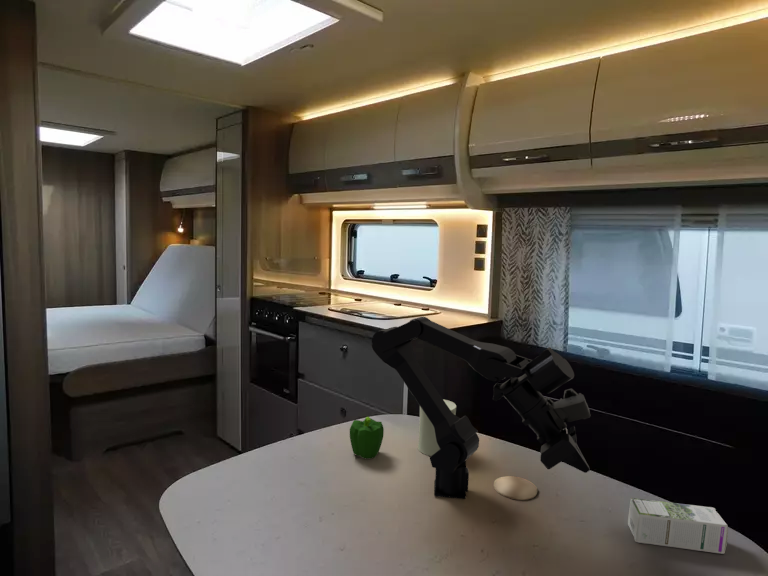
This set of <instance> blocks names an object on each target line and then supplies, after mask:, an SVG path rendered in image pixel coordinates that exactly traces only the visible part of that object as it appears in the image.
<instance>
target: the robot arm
mask: <svg viewBox="0 0 768 576" xmlns="http://www.w3.org/2000/svg"><path fill="white" fill-rule="evenodd" d="M417 339H419V340H421V341H423V342H425V343H427V344H430V345H432V346H434V347H436V348H438V349H440V350H442V351H445V352H446V353H449V354H450V355H452V356H455V357H457V358H459V359H461V360H463V361H465V362H466V363H468V365H469V366H470V367H471V368H472V369H473V370H474V371H475V372H476V373H478V374H479V375H480V376H482V377H483V378H484V379H486V380H488V381H489V382H495V384H494V385H493V387H492V389H493V396H492V400H493V401H494V402H497V401H499V400H500V399H501V398H502V397H504V399H506V400H507V402H508V403H509V404H510V406H512V408H513V409H514V410H515V411H516V413H518V415H519V416H520V417H521V419H522V421H521V422H522V424H523V425H524V427H527V426H528V427H529V428H530V429H531V430H532V431H533V432H534V434H535V435H536V440H537V442H538V443H539V444H543V443H544V442H545V443H544V444H543V445H540V446H541V447H540V462H541V464H543V466H544V467H545V468H546V469H547V470H551V469H552V468H553V467H556V466H557V465H558V464H560V463H564V464H566V465H568V466H570V467H572V468H574V469H576V470H578V471H581V472H582V473H585V474H586V473H588V472H589V471H590V470H591V469H590V466H589V464H588V463H587V461H586V459H585V457H584V455H583V453H582V451H581V449H580V448H579V445H578V443H577V434H576V427H575V425H573V426H571V427H570V428H568V429H567V427H568V425H567V423H571V422H574V421H579V420H587V419H589V418H591V417H592V416H591V415H592V414H591V412H590V410H591V409H590V408H589V405H588V402H587V400H586V397H585V395H584V394H582V393H581V392H579V393H577V392H576V391H575V390H574V389H573V388H568V389H565V390H564V392H563V398H562V397H561V398H559V400H557V401H553V400H552V399H551V397H548V396H544V395H543V394H542V393H544V394H547V395H549V394H551V393H552V392H554V391H555V390H557V389H558V388H560V387H561V386H563V385H565V384H567V382H569V381H571V380H573V379H574V378H575V372H574V370H573V368H572V366H571V364H570V363H569V362H568V361H567V359H566V358H564V357H563V356H562V355H561V354H559V353H557V352H556V351H554V350H553V349H552V347H550V346H549V347H547V348H546V349H545V350H543V351H542V352H540V354H539V355H538V356H536V357H535V358H533V359H530V358H527V357H525V356H522V355H518V354H516V352H515V351H514V350H513V349H511V348H510V347H508V346H503V345H500V344H495V343H492V342H491V343H489V342H483V341H478V340H475V339H473V338H470V337H468V336H465V335H464V334H461V333H459V332H457V331H455V330H452V329H450V328H448V327H446V326H443V325H441V324H439V323H436V322H435V321H433V320H431V319H429V318H428V317H426V316H420V317H416V318H412V319H410V320H409V321H408V322H406V323H404V324H402V325H399V326H392V327H389V328H385V329H381V330H378V331H376V332H375V333H374V334H373V335H372V338H371V344H370V346H371V347H370V348H371V349H372V352H373V353H375V355H376V356H377V358H378V359H380V360H381V362H383V363H384V364H386V365H387V366H388V367H390V368H392V369H393V370H395V372H397V374H398V376H399V377H400V378H401V380H402V381H403V383H404V384H405V386H406V388H407V389H408V391H409V392H410V393H411V395H412V397H413V398H414V399H415V401H416V402H417V404H418V406H419V408H420V407H421V408H422V410H423V411H424V413H425V414H426V416H427V417H428V419H429V420H430V422H431V423H432V425H433V426H434V430H435V436H436V441H437V444H438V446H439V448H440V450H438V451H437V452H436V453H434V454H433V455H432V456H429V460H430V465H431V468H433V469H435V473H434V474H435V475H434V486H433V488H434V489H433V491H434V493H433V496H434V497H436V498H437V497H438V498H447V499H448V498H449V499H458V500H459V499H460V500H465V499H467V493H468V491H469V479H470V478H469V477H470V473H469V472H470V471H469V468H468V467H467V462H466V461H467V460H468V459H469V458H471V456H472V455H473V454H474V453H476V451H478V450H479V447H480V437H479V436H478V435H479V434H477V433H478V432H479V430H478V429H477V428H476V427H474V426H473V424H472V423H471V421H470V418H469V417H468V416H467V415H463V416H462V417H461V418H460V417H459V416H457V414H456V415H454V414H453V413H452V412H451V410H450V409H449V407H448V406H447V405H446V403H445V402H444V400H445V399H444V400H443V397H442V396H441V395H440V393H439V391H438V390H437V388H436V387H435V386H434V384H433V383H432V380H430V378H429V377H428V375H427V374H426V372H425V371H424V369H423V368H422V367H421V365H420V364H419V362H418V361H417V360H416V358H415V354H414V348H413V343H412V342H413V341H415V340H417ZM522 373H524V374H523V375H521V376H520V374H522ZM518 376H519V377H518ZM506 378H507V379H508V378H509V379H508V380H506V381H505V382H503V383H499V382H500V381H503V380H504V379H506Z"/></svg>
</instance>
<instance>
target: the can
mask: <svg viewBox="0 0 768 576" xmlns="http://www.w3.org/2000/svg"><path fill="white" fill-rule="evenodd" d="M442 399H443V398H442ZM443 400H444V402H445V403H446V405H447V406H448V407H449V409H450V410H451V412H452V413H453V414H454V415H456V416H457V414H456V413H457V405H456V403H455V402H453V401H450V400H448V399H443ZM418 422H419V424H418V426H419V427H418V428H419V429H418V430H419V431H418V445H417V450H418V451H419V452H420V453H422V454H423V455H425V456H428V457H431V456H432V455H433V454H434V453H436V452H437V451H438V450H440V448H439V446H438V444H437V441H436V436H435V430H434V426H433V425H432V423H431V422H430V420H429V419H428V417H427V416H426V414H425V413H424V411H423V410H422V408H421V407H420V406H419V421H418Z"/></svg>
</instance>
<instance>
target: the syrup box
mask: <svg viewBox="0 0 768 576" xmlns="http://www.w3.org/2000/svg"><path fill="white" fill-rule="evenodd" d="M628 510H629V511H628V517H627V518H628V519H627V526H628V527H629V529H630V532H631V534H632V535H633V538H634V542H636V543H640V544H645V545H655V546H661V547H669V548H670V547H671V548H675V549H676V548H677V549H683V550H692V551H699V552H706V553H713V554H721V555H724V554H725V552H726V549H727V544H728V538H729V529H728V527H729V526H728V524H727V523H726V522H725V520H724V519H723V518H722V516H721V515H720V514H719V513H718V511H716V510H717V509H716V508H715V507H712V506H703V505H695V504H685V503H677V502H670V501H662V500H661V501H660V500H652V499H643V498H635V497H630V503H629V509H628Z"/></svg>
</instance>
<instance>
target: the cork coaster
mask: <svg viewBox="0 0 768 576" xmlns="http://www.w3.org/2000/svg"><path fill="white" fill-rule="evenodd" d="M493 488H494V489H493V490H495V491H496V493H498V494H499V495H500V496H503V497H504V498H508V499H512V500H516V501H517V500H518V501H528V500H532V499H534V498H535V497H536V496H537V494H538V488H537V486H536V485H535V484H534V483H533V482H531V481H530V480H528V479H525V478H523V477H518V476H513V475H512V476H511V475H507V476H501V477H498V478H496V479H495V480H494V482H493Z"/></svg>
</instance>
